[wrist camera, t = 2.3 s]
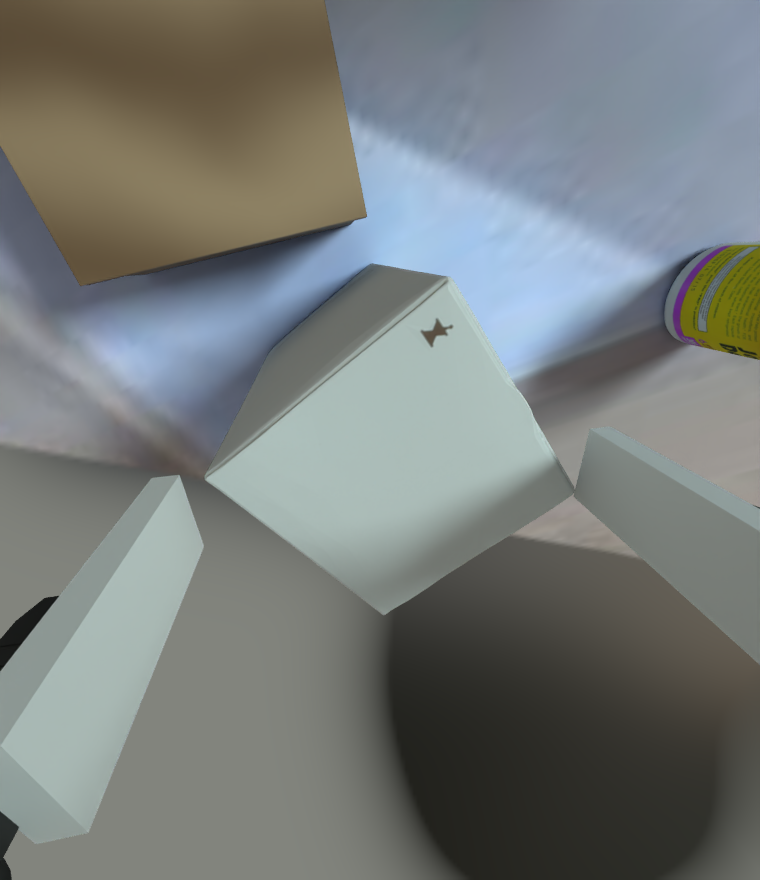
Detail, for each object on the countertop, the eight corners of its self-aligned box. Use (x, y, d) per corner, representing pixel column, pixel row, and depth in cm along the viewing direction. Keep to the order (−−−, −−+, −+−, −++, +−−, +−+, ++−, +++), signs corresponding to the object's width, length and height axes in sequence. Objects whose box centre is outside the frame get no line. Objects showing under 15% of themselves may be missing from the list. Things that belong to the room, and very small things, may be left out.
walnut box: (-18, -50, 14) (-214, -230, 9) (282, -113, 15) (260, -321, 9) (143, 279, 20) (80, 285, 15) (355, 227, 21) (367, 216, 15)
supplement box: (262, 352, 23) (185, 478, 10) (372, 259, 22) (455, 259, 8) (351, 446, 27) (380, 625, 14) (448, 373, 26) (586, 495, 12)
